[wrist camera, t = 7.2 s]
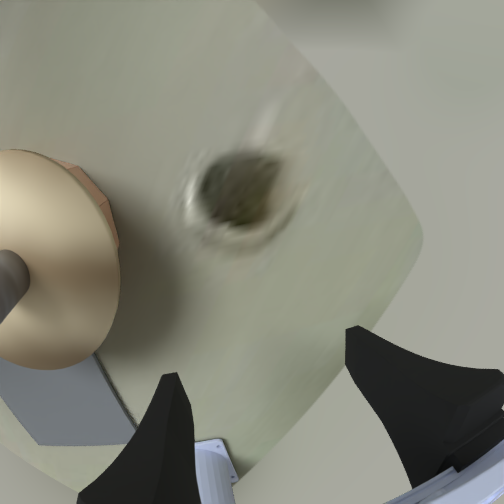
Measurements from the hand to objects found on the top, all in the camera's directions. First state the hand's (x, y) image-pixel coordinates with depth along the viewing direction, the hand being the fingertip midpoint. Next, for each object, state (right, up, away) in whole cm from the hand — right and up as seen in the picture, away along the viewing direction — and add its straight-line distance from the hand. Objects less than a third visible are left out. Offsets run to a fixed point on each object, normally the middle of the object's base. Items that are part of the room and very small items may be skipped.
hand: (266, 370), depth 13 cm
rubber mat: (-18, -9, +10) cm, 23 cm away
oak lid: (-14, +4, +2) cm, 14 cm away
